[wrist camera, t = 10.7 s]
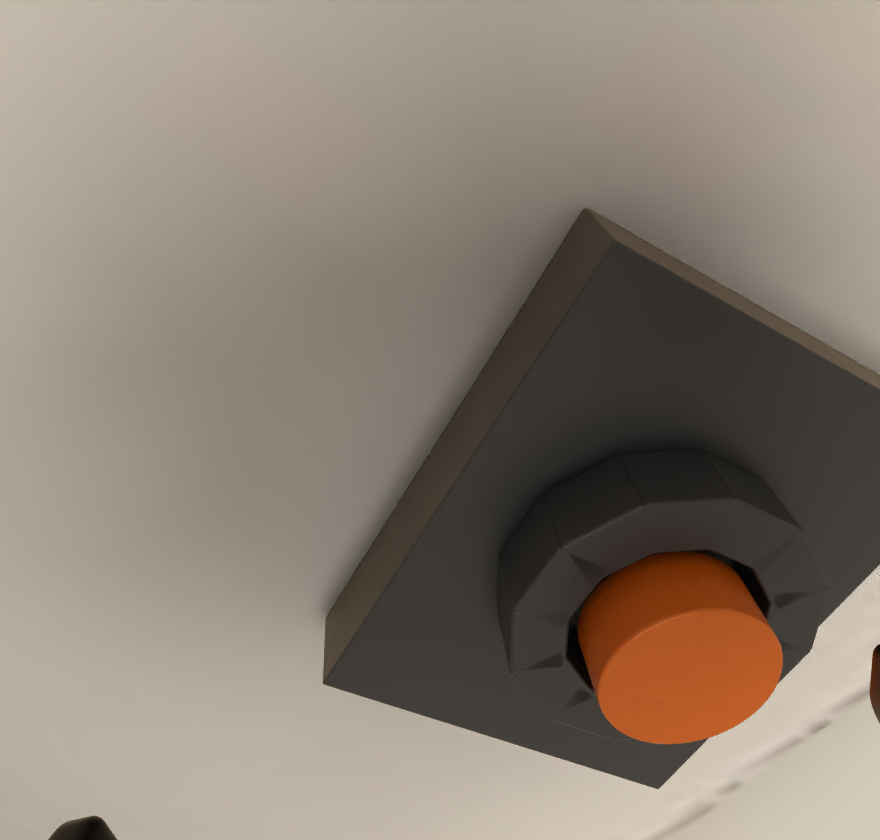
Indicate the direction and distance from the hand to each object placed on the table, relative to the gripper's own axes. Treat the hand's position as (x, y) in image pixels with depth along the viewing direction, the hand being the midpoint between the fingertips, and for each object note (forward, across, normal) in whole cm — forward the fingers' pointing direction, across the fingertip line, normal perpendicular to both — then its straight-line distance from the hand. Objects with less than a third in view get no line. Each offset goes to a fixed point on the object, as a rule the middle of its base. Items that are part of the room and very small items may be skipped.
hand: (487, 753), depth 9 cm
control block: (+10, -4, +5) cm, 12 cm away
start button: (+6, -4, +5) cm, 9 cm away
